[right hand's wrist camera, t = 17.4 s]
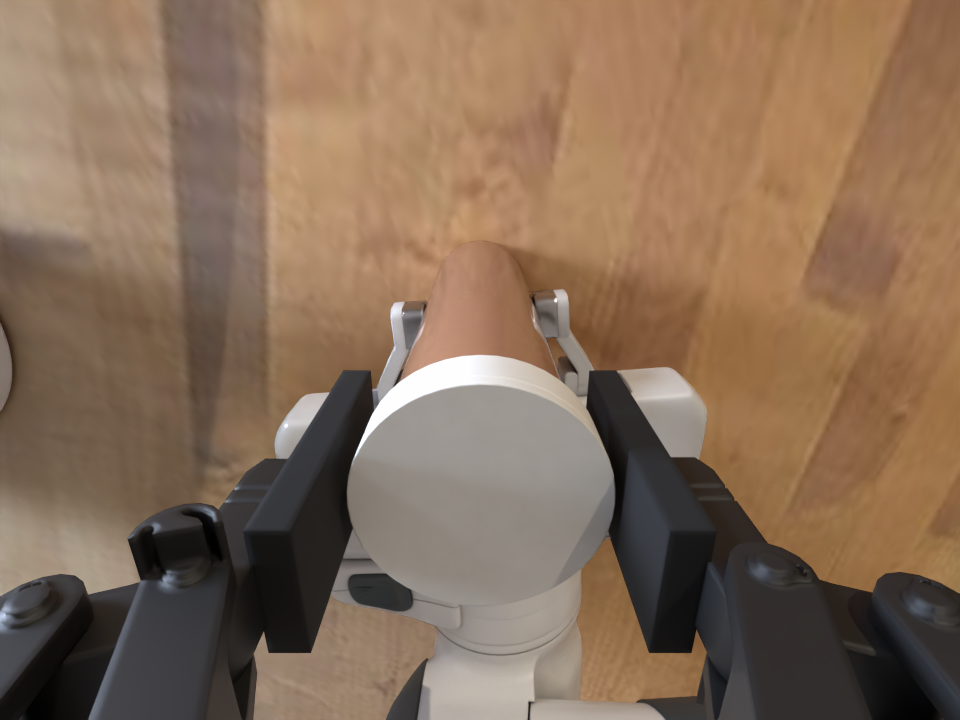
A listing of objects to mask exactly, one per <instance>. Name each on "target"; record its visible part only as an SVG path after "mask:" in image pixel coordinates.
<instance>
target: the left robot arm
mask: <svg viewBox="0 0 960 720" xmlns="http://www.w3.org/2000/svg"><path fill="white" fill-rule="evenodd" d="M532 300H533V303H534V306H535V308H536V311H537V314H538V317H539V319H540V322H541V325H542V328H543V331H544V333H545V336H546V338H552V337H555V339H556V340H557V342H558V343H559V345H560V346H561V348H562V349H563V351H564V352H565V354H566V355H567V356H564V357H560V358H559V359H558V372H559V375H560V378H561V381H562V382H563V383H564V384H565V385H566V386H567V387H569V388H570V389H571V390H572V391H573V392H574V394H575V395H576V396H577V397H578V398H579V399H580V400H581V402H582V403H583V405H584V406H585V408H586V403H587V391H588V380H589V371H595V370H594V368H593V366H592V364H591V362H590V360H589V358H588V357H587V355H586V353H585V351H584V350H583V348H582V347H581V345H580V344H579V342H578V341H577V339H576V338H575V336H574V335H573V333H572V332H571V330H570V324H569V301H568V295H567V293H566V292H565V290H564V289H559V290H547V291H536V292H532ZM426 305H427V302H426V301H413V302H398V303H394V305H393V307H392V308H391V324H392V331H393V337H394V344H395V346H394V348H393V351H392V353H391V355H390V358H389V360H388V362H387V365H386V367H385V369H384V371H383V374H382V376H381V378H380V381H379V383H378V385H377V389H372V392H373V403H374V411H375V409H376V408H377V406H378V405H379V403H380V402H381V400H382V399H383V398H384V397H385V396H386V395H387V394H388V392H389V391H390V390H391V389H393V388H394V387H395V386H396V385H397V384H398V383H399V382H400V379H401V376H402V374H403V371H404V369H402V370H401V368H402V366H403V363H404V361H405V359H406V357H407V354H408V352H409V350H410V349H411V348H412V345H413V342H414V339H415V337H416V334H417V331H418V328H419V325H420V322H421V320H422V317H423V314H424V311H425V308H426ZM617 372H618V374H619V375H620V377H621V379H622V380H623V382H624V383H625V385H626V386H627V388H628V390H629V391H630V393H631V394H632V396H633V398H634V399H635V401H636V402H637V404H638V406H639V407H640V409H641V410H642V412H643V414H644V415H645V417H646V418H647V420H648V421H649V423H650V425H651V426H652V428H653V429H654V431H655V433H656V434H657V436H658V437H659V439H660V441H661V442H662V444H663V445H664V447H665V449H666V450H667V452H668V453H669V455H670V456H671V457H696V458H697V459H698V460H699V459H700V455H701V451H702V446H703V441H704V435H705V429H706V422H707V409H706V406H705V403H704V401H703V400H702V398H701V397H700V395H699V394H698V393H697V391H696V390H695V389H694V388H693V387H692V386H691V385H690V384H689V383H688V382H687V381H686V380H685V379H684V378H683V377H682V376H681V375H680V374H679V373H677V372H676V371H675V370H673V369H672V368H668V367H658V368H645V369H632V370H619V371H617ZM11 383H12V359H11V354H10V349H9V345H8V341H7V338H6V335H5V333H4V330H3V328H2V325H1V323H0V412H1V410H2V409H3V407H4V405H5V403H6V401H7V399H8V396H9V393H10V389H11ZM329 393H330V392H327V393H313V394H307V395H305V396H303V397H302V398H301V399H300V400H299V401H298V402H297V403H296V405H295V406H294V407H293V408H292V409H291V411H290V412H289V413H288V414H287V416H286V417H285V419H284V420H283V422H282V424H281V425H280V427H279V429H278V431H277V434H276V437H275V442H274V446H275V454H276V458H277V459H288V458H289V456H290V455H291V453H292V452H293V450H294V449H295V447H296V445H297V444H298V442H299V441H300V439H301V437H302V436H303V434H304V433H305V431H306V429H307V428H308V426H309V425H310V423H311V421H312V420H313V418H314V417H315V415H316V414H317V412H318V410H319V409H320V407H321V406H322V404H323V402H324V401H325V399H326V398H327V396H328V394H329ZM604 540H610V536H609V533H608V532H607V534H606V536H605V538H604ZM581 590H582V582H581V569H580V570H579V571H578V572H577V573H575V574H574V575H573V576H572V577H571V578H569V579H568V580H566V581H565V582H563V583H562V584H560V585H558V586H557V587H555V588H553V589H551V590H549V591H547V592H545V593H542V594H540V595H537V596H534V597H532V598H529V599H525V600H521V601H518V602H514V603H507V604H501V605H488V606H474V605H462V604H454V603H449V602H445V601H441V600H436V599H433V598H431V597H428V596H425V595H422V594H420V593H418V592H415V591H413V590H411V589H409V588H407V587H405V586H404V585H402V584H401V583H399V582H397V581H396V580H394V579H393V578H392V577H390V576H389V575H388V574H387V573H385V572H384V571H383V570H382V569H381V568H380V567H379V566H378V565H377V564H376V563H375V562H374V561H373V560H372V559H371V558H370V556H369V555H368V554H367V552H366V551H365V550H364V548H363V547H362V545H361V543H360V542H359V540H358V538H357V536H356V534H355V532H354V529H353V530H352V533H351V536H350V539H349V541H348V544H347V547H346V550H345V553H344V556H343V559H342V562H341V565H340V568H339V571H338V574H337V577H336V580H335V583H334V586H333V589H332V592H331V596H332V597H333V598H334V599H335V600H337V601H339V602H342V603H345V604H350V605H355V606H361V607H367V608H372V609H377V610H382V611H387V612H391V613H395V614H399V615H403V616H407V617H410V618H414V619H417V620H420V621H423V622H425V623H428V624H431V625H433V626H434V627H435V630H436V637H435V650H434V651H435V654H434V656H433V657H432V658H431V659H428V658H427V659H426V660H424V661H423V662H422V663H421V664H420V665H419V667H418V668H417V669H416V670H415V671H414V673H413V674H412V676H411V677H410V678H409V680H408V681H407V683H406V684H405V686H404V687H403V689H402V690H401V692H400V693H399V695H398V696H397V698H396V699H395V701H394V703H393V705H392V707H391V709H390V711H389V713H388V716H387V718H386V720H707V713H706V701H705V698H704V702H703V705H702V704H698V703H696V700H697V696H691V697H674V698H657V699H641V700H638V701H637V702H636V703H630V702H607V701H585V700H580V696H581V683H582V641H581V635H580V631H579V627H578V624H577V622H576V620H577V617H578V614H579V611H580V605H581Z"/></svg>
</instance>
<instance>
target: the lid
mask: <svg viewBox="0 0 960 720" xmlns="http://www.w3.org/2000/svg"><path fill="white" fill-rule="evenodd" d="M615 495H616V487H615V480H614V473H613V470H612V467H611V463H610V460H609V458H608V455H607V453H606V451H605V448H604V446H603V443H602V441H601V439H600V436H599V434H598V432H597V429H596V427H595V425H594V422H593V420H592V418H591V416H590V414H589V412H588V411H587V409H586V408H585V406H584V405H583V403H582V402H581V400H580V399H579V398H578V397H577V396H576V395H575V394H574V392H573V391H572V390H571V389H570V388H569V387H567V386H566V385H565V384H564V383H563V382H561V381H560V380H559V379H558V378H556V377H554V376H553V375H551V374H550V373H548V372H546V371H545V370H543V369H540V368H538V367H536V366H534V365H531V364H529V363H526V362H523V361H519V360H516V359H513V358H507V357H501V356H492V355H471V356H460V357H455V358H450V359H446V360H442V361H439V362H436V363H433V364H430V365H428V366H426V367H424V368H422V369H420V370H418V371H416V372H414V373H412V374H411V375H409V376H408V377H406V378H405V379H403V380H402V381H401V382H399V383H398V384H397V385H396V386H395V387H394V388H393V389H391V390H390V391H389V392H388V394H387V395H386V396H385V397H384V398H383V399H382V400H381V402H380V403H379V405H378V406H377V408H376V409H375V411H374V412H373V414H372V416H371V418H370V421H369V423H368V425H367V427H366V430H365V432H364V434H363V437H362V439H361V442H360V444H359V447H358V449H357V451H356V454H355V456H354V459H353V461H352V464H351V468H350V471H349V475H348V482H347V507H348V512H349V517H350V521H351V524H352V526H353V529H354V532H355V534H356V536H357V538H358V540H359V542H360V543H361V545H362V547H363V548H364V550H365V551H366V552H367V554H368V555H369V556H370V558H371V559H372V560H373V561H374V562H375V563H376V564H377V565H378V566H379V567H380V568H381V569H382V570H383V571H384V572H385V573H387V574H388V575H389V576H390V577H392V578H393V579H394V580H396V581H397V582H399V583H401V584H402V585H404V586H405V587H407V588H409V589H411V590H413V591H415V592H418V593H420V594H422V595H425V596H428V597H431V598H433V599H436V600H441V601H445V602H449V603H454V604H462V605H474V606H488V605H501V604H507V603H514V602H518V601H521V600H525V599H529V598H532V597H534V596H537V595H540V594H542V593H545V592H547V591H549V590H551V589H553V588H555V587H557V586H558V585H560V584H562V583H563V582H565V581H566V580H568V579H569V578H571V577H572V576H573V575H574V574H575V573H577V572H578V571H579V570H580V569H581V568H583V567H584V565H585V564H586V563H587V562H588V561H589V560H590V559H591V558H592V557H593V555H594V554H595V553H596V551H597V550H598V548H599V547H600V546H601V544H602V542H603V540H604V538H605V536H606V534H607V532H608V530H609V527H610V524H611V521H612V518H613V513H614V508H615Z"/></svg>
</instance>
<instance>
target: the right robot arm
mask: <svg viewBox="0 0 960 720" xmlns="http://www.w3.org/2000/svg"><path fill="white" fill-rule="evenodd" d="M586 409H587V411H588V412H589V414H590V416H591V418H592V420H593V422H594V425H595V427H596V429H597V432H598V434H599V436H600V439H601V441H602V443H603V446H604V448H605V451H606V453H607V455H608V458H609V460H610V463H611V467H612V470H613V473H614V480H615V487H616V495H615V508H614V513H613V518H612V521H611V524H610V527H609V530H608V533H609V536H610V539H611V542H612V544H613V547H614V550H615V553H616V556H617V559H618V562H619V565H620V568H621V571H622V574H623V577H624V580H625V583H626V586H627V589H628V592H629V595H630V598H631V601H632V603H633V606H634V609H635V612H636V615H637V618H638V621H639V624H640V627H641V630H642V633H643V636H644V639H645V642H646V645H647V648H648V651H649V653H691V652H692V647H693V643H694V638H695V633H696V629H697V631H698V633H699V636H700V638H701V640H702V642H703V644H704V647H705V649H706V651H707V654H706V658H705V663H704V667H703V671H702V676H701V680H700V685H699V689H698V694H697V700H696V703H698V704H702V705H703V702H704V698H705V701H706V713H707V720H960V594H959V593H957V592H955V591H954V590H952V589H950V588H948V587H946V586H945V585H943V584H941V583H939V582H936V581H934V580H931V579H928V578H925V577H922V576H920V575H915V574H909V573H903V572H896V573H886V574H885V575H883V576H882V577H881V578H879V579H878V580H877V583H876V585H875V588H874V591H873V593H871V592H867V591H863V590H858V589H854V588H850V587H845V586H841V585H837V584H832V583H829V582H825V581H822V580H819V578H818V577H817V575H816V574H815V572H814V571H813V569H812V568H811V567H810V566H809V565H808V564H807V563H805V562H804V561H803V560H802V559H801V558H800V557H798V556H796V555H795V554H793V553H791V552H789V551H787V550H785V549H783V548H781V547H777V546H774V545H771V544H768V543H767V542H766V540H765V539H764V538H763V536H762V535H761V533H760V532H759V531H758V529H757V528H756V527H755V525H754V524H753V523H752V521H751V520H750V519H749V517H748V516H747V515H746V513H745V512H744V510H743V509H742V508H741V506H740V505H739V504H738V502H737V501H734V497H733V496H732V494H731V493H730V491H729V490H728V489H727V488H725V485H724V483H723V482H722V481H721V479H720V478H719V477H718V475H717V474H716V473H715V471H714V470H713V469H711V468H710V467H709V466H707V465H706V464H704V463H703V462H701V461H700V460H698V459H697V458H696V457H671V456H670V455H669V453H668V452H667V450H666V449H665V447H664V445H663V444H662V442H661V441H660V439H659V437H658V436H657V434H656V433H655V431H654V429H653V428H652V426H651V425H650V423H649V421H648V420H647V418H646V417H645V415H644V414H643V412H642V410H641V409H640V407H639V406H638V404H637V402H636V401H635V399H634V398H633V396H632V394H631V393H630V391H629V390H628V388H627V386H626V385H625V383H624V382H623V380H622V379H621V377H620V375H619V374H618V372H617V371H589V380H588V391H587V403H586ZM373 412H374V403H373V392H372V380H371V371H343V372H342V374H341V375H340V377H339V379H338V380H337V382H336V383H335V385H334V386H333V388H332V390H331V391H330V393H329V394H328V396H327V398H326V399H325V401H324V402H323V404H322V406H321V407H320V409H319V410H318V412H317V414H316V415H315V417H314V418H313V420H312V421H311V423H310V425H309V426H308V428H307V429H306V431H305V433H304V434H303V436H302V437H301V439H300V441H299V442H298V444H297V445H296V447H295V449H294V450H293V452H292V453H291V455H290V456H289V458H288V459H264V460H263V461H261V462H260V463H258V464H257V465H256V466H254V467H253V468H251V469H250V470H248V471H247V472H246V473H245V475H244V476H243V477H242V479H241V480H240V481H239V483H238V484H237V485H236V487H235V490H233V491H232V492H231V494H230V495H229V496H228V498H227V499H226V503H223V505H222V506H221V507H220V509H219V510H218V509H217V508H215V507H214V506H212V505H207V504H202V503H196V504H184V505H180V506H176V507H173V508H169V509H166V510H164V511H162V512H160V513H157V514H155V515H153V516H151V517H149V518H148V519H147V520H145V521H144V522H143V523H141V524H140V525H139V526H137V527H136V528H135V529H134V531H133V532H132V533H131V535H130V536H129V537H128V542H129V545H130V548H131V551H132V554H133V557H134V560H135V564H136V567H137V570H138V573H139V576H140V579H141V581H140V582H139V583H135V584H132V585H128V586H124V587H120V588H115V589H111V590H107V591H102V592H98V593H94V594H89V595H88V593H87V591H86V588H85V585H84V583H83V581H81V580H80V579H79V578H77V577H76V576H73V575H64V574H59V575H53V576H47V577H42V578H39V579H36V580H33V581H31V582H28V583H25V584H22V585H20V586H18V587H17V588H15V589H13V590H11V591H9V592H8V593H6V594H4V595H2V596H0V720H253V714H254V703H255V691H256V680H257V669H256V663H255V658H254V651H255V649H256V647H257V645H258V643H259V640H260V638H261V636H262V634H263V632H264V633H265V638H266V643H267V647H268V652H269V653H311V651H312V648H313V645H314V642H315V639H316V636H317V633H318V630H319V627H320V624H321V621H322V618H323V615H324V612H325V609H326V606H327V603H328V601H329V598H330V595H331V592H332V589H333V586H334V583H335V580H336V577H337V574H338V571H339V568H340V565H341V562H342V559H343V556H344V553H345V550H346V547H347V544H348V541H349V539H350V536H351V533H352V530H353V526H352V524H351V521H350V517H349V512H348V507H347V482H348V475H349V471H350V468H351V464H352V461H353V459H354V456H355V454H356V451H357V449H358V447H359V444H360V442H361V439H362V437H363V434H364V432H365V430H366V427H367V425H368V423H369V421H370V418H371V416H372V414H373Z"/></svg>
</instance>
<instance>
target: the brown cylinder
mask: <svg viewBox="0 0 960 720" xmlns="http://www.w3.org/2000/svg"><path fill="white" fill-rule="evenodd" d="M471 355H492V356H501V357H507V358H513V359H516V360H519V361H523V362H526V363H529V364H531V365H534V366H536V367H538V368H540V369H543V370H545V371H546V372H548V373H550V374H551V375H553V376H554V377H556V378H558V379H559V380H560V381H561V378H560V375H559V372H558V370H557V367H556V364H555V361H554V358H553V356H552V353H551V350H550V347H549V345H548V342H547V339H546V336H545V333H544V331H543V328H542V325H541V322H540V319H539V317H538V314H537V311H536V308H535V306H534V303H533V300H532V297H531V294H530V292H529V289H528V286H527V283H526V281H525V278H524V275H523V272H522V270H521V267H520V265H519V263H518V261H517V260H516V258H515V257H514V256H513V255H512V254H511V253H510V252H509V251H508V250H506V249H505V248H503V247H502V246H500V245H497V244H495V243H492V242H487V241H474V242H469V243H466V244H463V245H461V246H459V247H457V248H456V249H454V250H453V251H452V252H451V253H450V254H449V255H448V256H447V257H446V258H445V259H444V261H443V262H442V264H441V266H440V269H439V271H438V274H437V277H436V280H435V283H434V285H433V288H432V291H431V294H430V297H429V300H428V302H427V305H426V308H425V311H424V314H423V317H422V320H421V322H420V325H419V328H418V331H417V334H416V337H415V339H414V342H413V345H412V348H411V351H410V354H409V356H408V359H407V362H406V365H405V368H404V371H403V374H402V376H401V379H400V382H401V381H402V380H403V379H405V378H406V377H408V376H409V375H411V374H412V373H414V372H416V371H418V370H420V369H422V368H424V367H426V366H428V365H430V364H433V363H436V362H439V361H442V360H446V359H450V358H455V357H460V356H471ZM561 382H562V381H561Z"/></svg>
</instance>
